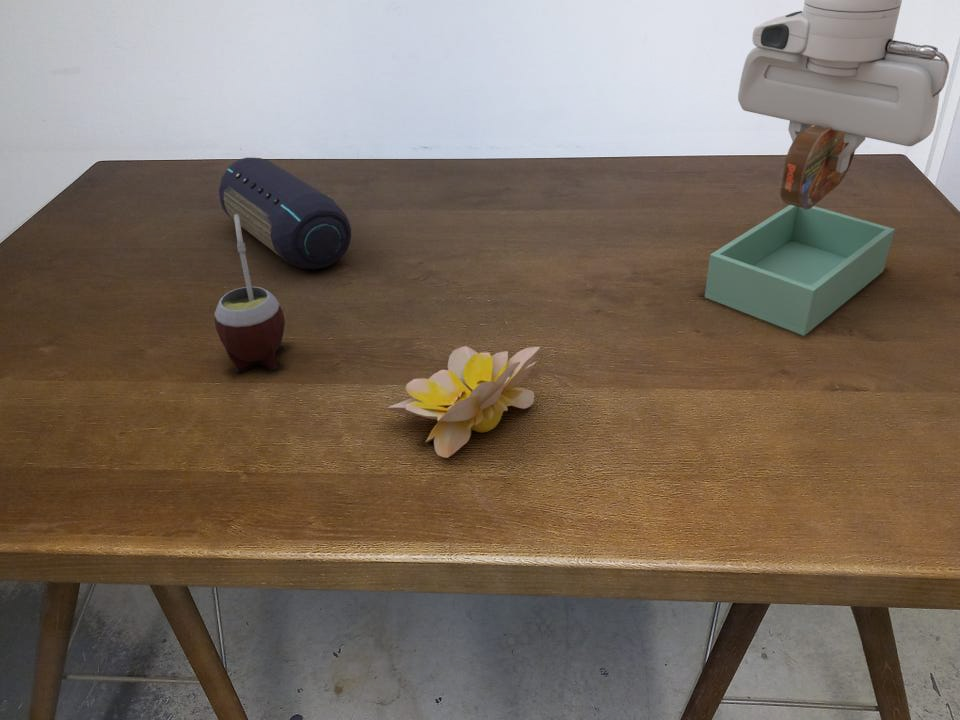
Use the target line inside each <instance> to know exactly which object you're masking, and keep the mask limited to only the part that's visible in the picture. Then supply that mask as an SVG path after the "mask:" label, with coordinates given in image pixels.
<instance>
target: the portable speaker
mask: <svg viewBox="0 0 960 720" xmlns="http://www.w3.org/2000/svg"><path fill="white" fill-rule="evenodd" d="M219 183H220V184H219V187H218V193H219V194H218V195H219V202H220V206H221V207H222V208H221V209H222V210H223V211H224V213H225V214H226V215H227V216H228V217H229V218H230V219H231V220H232V221H234V215H235V214H238V215H239V218H240V225H241V228H242V229H244V230H245V231H246V232H248V233H249V234H250V235H251V236H253V237H254V238H256V240H258V241H259V242H261V243H262V244H263V245H264V246H266V247H267V248H268V249H269V250H271V251H272V252H273V253H275V254H276V255H277V256H279V258H281V259H282V260H284V261H285V262H287V263H288V264H290V265H291V266H292V267H295V268H299V269H303V270H319V269H324V268H327V267H331V266H332V265H334V264H335V263H337V262H338V261H340V259H341V258H343V256H344V255H345V254H346V252H347V251H348V249H349V246H350V244H351V241H352V227H351V224H350V220H349V218H348V216H347V215H346V214H345V212H344V211H343V209H342V208H341V207H340V206H339V205H338V204H337V203H336V201H335V200H334V199H333V198H331V197H329V196H328V195H326V194H325V193H323V192H321V191H320V190H318V189H317V188H315V187H313V186H312V185H310V184H309V183H306V182H305V181H303V180H301V179H300V178H299V177H297V176H295V175H294V174H292V173H290V172H289V171H287V170H286V169H284V168H282V167H280V166H279V165H277V164H276V163H275V162H272V161H270V160H269V159H265V158H262V157H243V158H240V159H238V160H236V161H234V162H233V163H232V164H230V165H229V167H227V169H226V171H225V172H224V173H223V175H222V176H221V179H220V182H219Z"/></svg>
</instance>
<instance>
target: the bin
mask: <svg viewBox="0 0 960 720" xmlns="http://www.w3.org/2000/svg"><path fill="white" fill-rule="evenodd" d="M894 234H895V228H893V227H889V226H886V225H882V224H879V223H875V222H872V221H868V220H866V219H865V220H864V219H861V218H859V217H854V216H851V215H846V214H844V213H840V212H836V211H833V210H830V209H825V208H822V207H819V206H815V205H814V206H813V207H812V208H810V209H807V210H806V209H803V208H801V207H797V206H793V205H789V204H788V205H787V206H786V207H783V209H781V210H779V211H777V212H776V213H775V214H773V215H771V216H769V217H768V218H766V219H765V220H763V221H761V222H760V223H758V224H757V225H755V226H753V227H752V228H750V229H749V230H747V231H745V232H744V233H743V234H742V233H741V235H739V236H737V237H736V238H734V239H733V240H731V241H729V242H728V243H726V244H724V245H723V246H721V247H720V248H718V249H717V250H715V251H713V252H712V253H710V254H709V259H708V268H707V276H706V282H705V289H704V298H705V299H709V300H711V301H713V302H716V303H719V304H721V305H724V306H726V307H729V308H732V309H734V310H737V311H738V312H742V313H743V314H747V315H750V316H752V317H755V318H758V319H760V320H762V321H765V322H767V323H770V324H773V325H775V326H777V327H780V328H783V329H786V330H788V331H791V332H792V333H796V334H798V335H801V336H806V335H807V334H808V333H809V332H811V331H812V330H813V329H814V328H816V327H817V326H818V325H819V324H821V323H822V322H823V321H824V320H825V319H827V318H828V317H829V316H831V314H833V313H835V311H837V310H838V309H839V308H840V307H841V306H843V305H845V303H846V302H848V301H849V300H850V299H852V298H853V297H854V296H855V295H856V294H858V293H859V292H860V291H861V290H862V289H864V288H865V287H866V286H867V285H869V284H870V283H871V282H872V281H874V280H875V279H876V278H877V277H878V276H880V275H881V274H882V273H884V271H885V267H886V264H887V259H888V256H889V252H890V248H891V245H892V241H893V237H894Z"/></svg>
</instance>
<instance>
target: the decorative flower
mask: <svg viewBox="0 0 960 720" xmlns="http://www.w3.org/2000/svg"><path fill="white" fill-rule="evenodd" d="M540 348H541V346H530V347H525V348H524V349H522V350H520V351H518V352H516V353H515V354H514V355H513V356H511V357H510V358H509V352H508V350H506V351H499V352H496V353H495V354H493V355H491V353H490V352H488V351H487V352H483V351H482V352H481V351H480V352H477V351H476V350H475V349H472V348H471V347H469V346H468V345H463V346H461V347H459V348H458V347H457V348H455V349H454V350H452V352H451V353H450V355H449V357H448V362H447V369H440V370H439V371H437V372H435V373H433V374H432V375H431V376H430V377H429V378H413V379H411V380H410V381H409V382H408V383H406V385H405V391H406V392H407V394H408V395H409V396H410V398H408V399H405V400H403V401H400V402H397V403H395V404H392V405H390V406H388V407H386V408H383V410H385V411H390V412H391V411H392V412H396V413H400V414H405V415H410V416H419V417H422V418H426V419H430V420H436V421H437V423H436V424H435V425H434V426H433V428H432V429H431V430H430V433H429V434H428V437H427V439H426V440H425V443H426V444H427V443H430V442H431V441H433V446H434V451H435V453H436V455H437V456H440V457H442V458H449V457H451V456H452V455H454V454H455V453H456V452H457V451H459V450H460V449H461V448H462V447H463V446H464V445H466V444H467V443H468V442H469V440H470V438H471V436H472V431H474V432H477V433H487V432H490V431H492V430H494V429H495V428H496V427H497V426H498V424H499V423H500V421H501V419H502V416H503V413H504V412H507V411H509V410H508V407H511V406H512V407H515V408H519V409H524V410H525V409H528V408H530V407H531V406H532V405H533V404H534V402H535V392H534V391H532V390H530V389H527V388H526V387H525V388H524V387H523V386H522V387H521V386H517V385H518V384H519V383H521V382H522V381H523V380H524V379H525V378H526V377H527V376H528V375H529V373H531V371H532V370H533V368H534V367H535V364H536V362H537V360H536V361H534V359H535V357H536V355H537V354H538V352H539V351H540ZM533 361H534V362H533Z"/></svg>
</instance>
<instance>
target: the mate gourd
mask: <svg viewBox="0 0 960 720" xmlns="http://www.w3.org/2000/svg"><path fill="white" fill-rule="evenodd" d="M233 222H234V227H235V228H234V229H235V234H236V242H237V243H236V248H237V252H238V253H239V259H240V262H241V267H242V272H243V277H244V282H245V286H243V287H239V288H235V289H233V290H230V291H228V292H226V293H225V294H224V295H223V296H222V297H221V298H220V299H219V301H218V303H217V306H216V309H215V311H214V326H215V330H216V332H217V335H218V337H219V340H220V342H221V343H222V345H223V347H224V349H225V351H226V354H227V356H228V358H229V359H230V361H231V363H232V365H234V367H235V368H234V369H233V373H235V374H236V375H239V374H241V373H244V372H245V371H247V370H249V369H251V368H252V367H255V366H257V365H261V366H263V367H265V368H266V369H269V370H270V371H272V372H276V371H277V370H279V369H280V365H278V364H277V363H276V354H277V353H279V352H281V351H282V350H284V345H283V344H282V341H283V336H284V332H285V325H286V322H285V321H286V320H285V314H284V311H283V309H282V308H281V305H280V302H279V300H278V299H277V298H276V296H274V294H273V293H271V292H270V291H269V290H267V289H265V288H263V287H259V286H253V285H252V280H251V276H250V271H249V265H248V260H247V256H246V251H247V249H246V243H245V242H244V239H243V235H242V233H243V232H242V227H241V225H240V218H239V215H238V214H235V215H234V220H233Z"/></svg>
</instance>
